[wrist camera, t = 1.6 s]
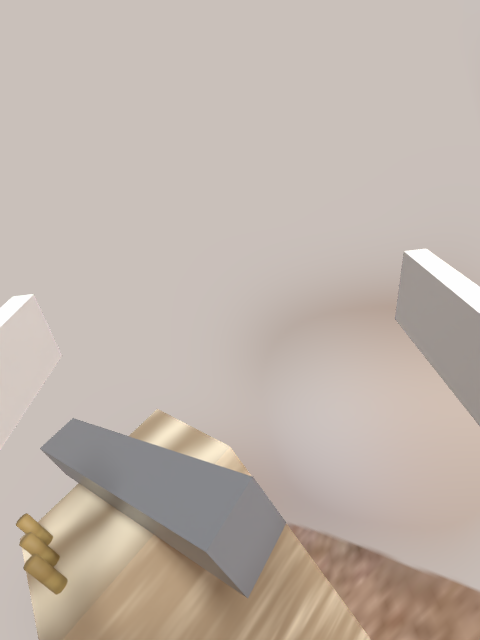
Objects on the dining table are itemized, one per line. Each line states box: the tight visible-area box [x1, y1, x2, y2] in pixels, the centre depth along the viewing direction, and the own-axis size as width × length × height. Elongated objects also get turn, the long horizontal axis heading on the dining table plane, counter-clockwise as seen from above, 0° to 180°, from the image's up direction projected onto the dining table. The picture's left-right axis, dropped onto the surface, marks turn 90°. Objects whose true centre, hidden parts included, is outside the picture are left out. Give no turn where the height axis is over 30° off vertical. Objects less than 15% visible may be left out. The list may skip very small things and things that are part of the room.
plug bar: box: [40, 418, 286, 598], centre depth 28 cm, size 27×4×4 cm, turn 51°
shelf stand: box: [16, 409, 371, 640], centre depth 36 cm, size 14×16×41 cm
